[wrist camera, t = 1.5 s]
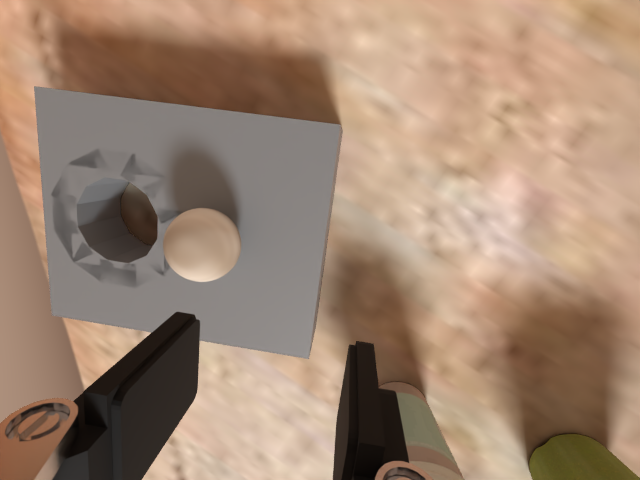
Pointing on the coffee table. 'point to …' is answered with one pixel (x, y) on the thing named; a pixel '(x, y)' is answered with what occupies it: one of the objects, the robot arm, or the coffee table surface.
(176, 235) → the ball
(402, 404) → the coffee cup
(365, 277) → the coffee table surface
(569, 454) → the plant pot
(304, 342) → the grey flat block
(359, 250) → the coffee table surface
